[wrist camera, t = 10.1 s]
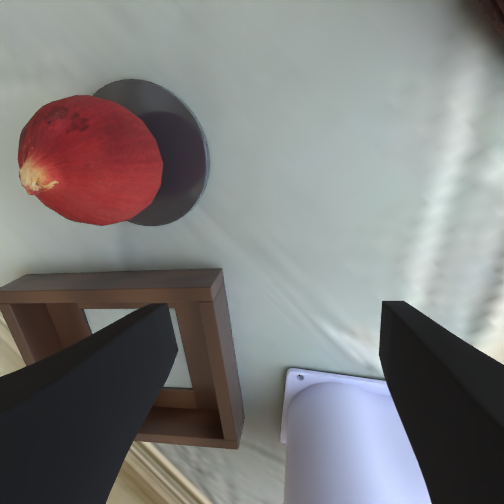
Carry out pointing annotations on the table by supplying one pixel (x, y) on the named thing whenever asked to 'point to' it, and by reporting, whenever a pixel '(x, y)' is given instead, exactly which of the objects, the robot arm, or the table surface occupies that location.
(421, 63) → the table surface
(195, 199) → the coaster
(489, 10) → the brown tall piece
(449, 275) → the table surface
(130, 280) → the tray
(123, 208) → the onion
